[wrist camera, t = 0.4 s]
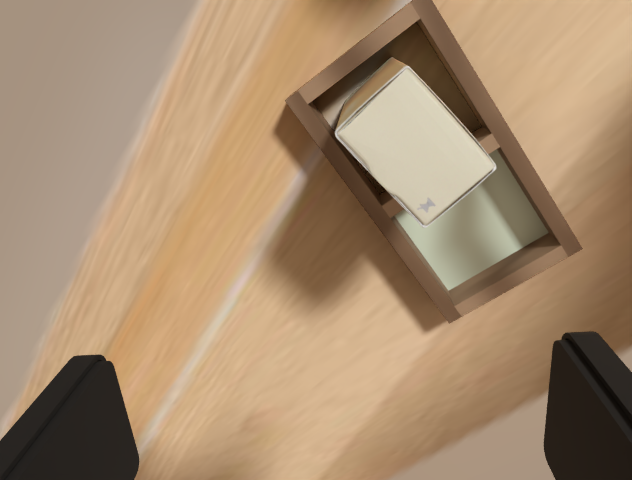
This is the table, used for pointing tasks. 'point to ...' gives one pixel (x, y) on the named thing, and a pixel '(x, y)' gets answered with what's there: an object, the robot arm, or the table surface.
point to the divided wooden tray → (470, 212)
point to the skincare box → (412, 142)
